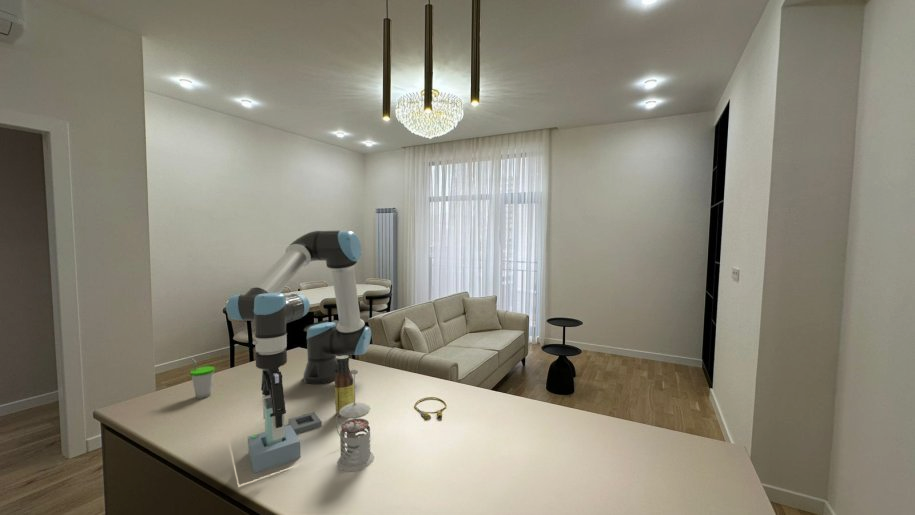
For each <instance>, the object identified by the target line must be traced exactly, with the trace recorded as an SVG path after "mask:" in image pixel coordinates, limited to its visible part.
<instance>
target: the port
mask: <svg viewBox="0 0 915 515" xmlns="http://www.w3.org/2000/svg"><path fill="white" fill-rule="evenodd" d="M284 436H285V437H283V438H282V442H279V443H276V444H272V445H269V446H266V442H265V431H264V432H260V433H257V434H252V435H250V436H248V437H247V446H248V447H247V449H248V450H247V452H248V457H249V460H250V463H251V466H252V470H253V472H254V474H255V473H260V472H262V471H265V470H268V469H270V468H274V467H277V466H280V465H282V464H283V465H284V464H286V463H288V462H292V461H294V460H297V459H300V458H301V440H300V438H299V437H298V435H297V434H296V433H295V431H294V429H293V428H292V426H291V425H289V424H288V425H284Z"/></svg>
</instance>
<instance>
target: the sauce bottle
mask: <svg viewBox="0 0 915 515" xmlns="http://www.w3.org/2000/svg"><path fill="white" fill-rule="evenodd" d="M336 359H337V366H338V369H337V370H338V371H337V374H336V376H335V380H334V400H335V413H336V414H335V415H336V416H337V415H338V414H339V411H340V409H341V408H343V407H344V406H345V405H348V404H351V403H354V376H353V374H351V369H350V364H349V362H350V356H349V355H348V354H342V355H339V356H336ZM338 418H341V415H340V414H339V416H338Z"/></svg>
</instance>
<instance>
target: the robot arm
mask: <svg viewBox="0 0 915 515" xmlns="http://www.w3.org/2000/svg"><path fill="white" fill-rule="evenodd" d="M361 251H362V246H361V242H360V238H359V237H358V235H357V234H356V233H355V232H354V231H353V230H352V231H351V230H343V229H342V230H313V231H310V232H308V233H305V234H304V235H301V236H300V237H298V238H297V239H295V240H294V241H292V242H291V243H290V244H289V245H288V246H287V247H286V249H285V253H284V254H283V255H282V256H281V257H280V258H279V259H278V260H277V261H276V262H275V263H274V264H273V265H272V267H270V268H269V270H267V271H266V272H265V273H264V275H263V276H261V277H260V278H259V279H258V280H257V282H256V283H254V285H252V286H251V288H250V289H249V290H248V291H247V292H246V293H245V294H242V293H241V294H235V295H232V296H231V297H230V298H229V299H228V300H227V303H226V307H225V309H226V313H227V315H228V317H229V318H230V319H232V320H233V321H234V320H235V321H243V322H244V321H246V322H247V321H254V335H255V336H254V337H255V340H253V341H252V344H253V345H255V352H256V353H255V367H256V369H260V370H262V372H261V388H260V389H261V393H262V412H263V413H262V414H263V418H262V419H263V420H265V407H264V399H266V398H271V404H272V411H273V413H271V414H270V417H272V439H273V440H277V439H280V438H283V437H285V436H284V426H285V414H286V413H287V410H286V403H285V402H286V401H285V393H284V385H283V374H282V371H280V369H279V368H280V367H282V366H284V365H286V364H287V362H288V355H287V354H288V352H287V346H288V345H287V344H288V342H287V341H288V338H287V337H288V336H287V334H288V333H287V324H289V323H291V322H294V321H297V320H300V319H302V318H303V317H304V316H306V315H307V314H308V313H309V310H310V307H311V306H310V305H311V304H310V300H309V299H308V298H307V296H305V295H304V294H302V293H291V294H290V295H285V294H284V293H282V291H283V290H284V289H285V288H286V287H287V285H288V284H289V283H290V282H291V281H292V280H293V278H294V277H295V276H297V274H298V273H299V271H301V269H302V268H303V267H306V266H308V265H310V263H311V262H315V261H322V262H323V261H325V264H326V268H328V269H329V270H331V275H332V276H331V278H332V284H333V289H334V290H333V291H334V296H335V297H334V298H335V302H336V303H335V304H336V308H337V309H336V310H337V315H338V323H337V324H336V322H334V321H333V322H332V321H331V322H330V321H329V322H321V323H318V324H314V325H311V326H309V328H307V332H306V348H307V352H306V353H307V362H306V365H305V369H304V372H303V382H305V383H306V384H311V385H312V384H314V385H315V384H316V385H317V384H318V385H319V384H326V383H330V382H331V383H332V382H333V381H334V382H335V376H336V374H337V371H338V370H337V369H338V366H337V355H347V356H349V355H350V356H351V355H352V356H357V355H358V356H359V355H364V354H365V353H367V351H368V349H369V346H370V343H371V338H372V329H371V328H370V327H369V326H366V323H365V321H364V320H363V319H362V318H361V312H360V306H359V297H358V289H357V282H356V275H355V274H356V273H355V266H356V265H357V264H358V261H359V260H360V259H361V256H362V252H361ZM279 409H280V410H279Z"/></svg>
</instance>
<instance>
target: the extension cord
mask: <svg viewBox="0 0 915 515" xmlns="http://www.w3.org/2000/svg"><path fill="white" fill-rule="evenodd" d="M427 400H434V401H435V400H436V401H439V402H441V403H443V404H444V406H445V407H443V408H441V409H438V410H437V411H424V410H420V409H419V408H418V407H417V405H418V404H419V403H421V402H423V401H427ZM413 408H414V409H415V411H417V412H420V414H421V416H422V417H423V418H424V419H425V420H429V419H431V418H432V416H431V415H430V414H435V413H436V417H437V419H438V420H439V419H440V420H442V419H443V412H444V411H445V409H446V408H447V404H446V402H445V401H444V400H443V399H441V398H439V397H436V396H435V397H434V396H431V397H430V396H429V397H428V396H427V397H423V398H420V399H419V400H418V401H416V402H415V404H414V406H413Z"/></svg>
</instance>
